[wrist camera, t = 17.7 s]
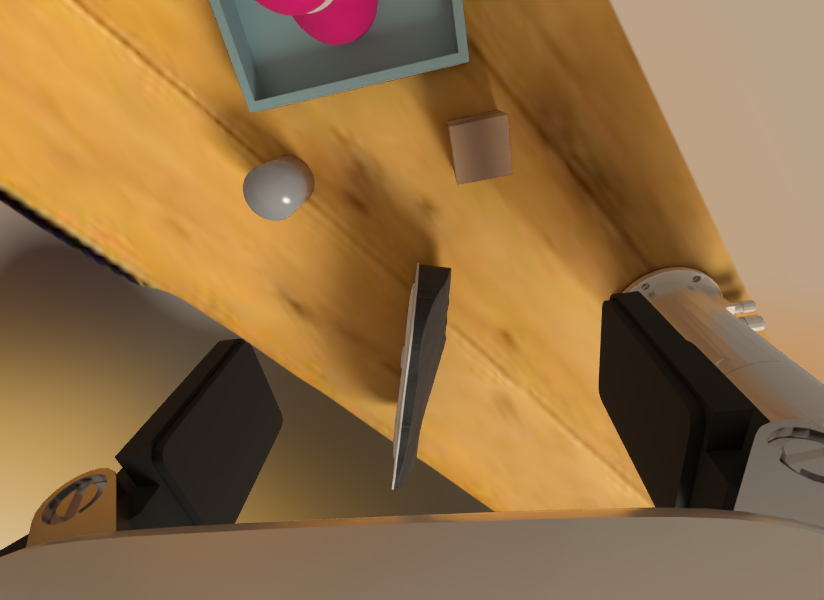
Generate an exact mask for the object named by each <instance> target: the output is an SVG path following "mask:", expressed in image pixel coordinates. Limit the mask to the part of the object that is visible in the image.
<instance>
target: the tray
mask: <svg viewBox="0 0 824 600" xmlns="http://www.w3.org/2000/svg"><path fill="white" fill-rule="evenodd" d="M209 1H210V4H211V7H212V9H213V12H214V15H215V18H216V20H217V23H218V26H219V29H220V31H221V34H222V37H223V40H224V43H225V45H226V48H227V51H228V54H229V56H230V59H231V62H232V65H233V67H234V70H235V73H236V76H237V78H238V81H239V84H240V87H241V90H242V92H243V95H244V98H245V101H246V103H247V106H248V109H249V112H250V113H253V112H258V111H264V110H269V109H273V108H277V107H282V106H286V105H290V104H294V103H299V102H303V101H307V100H311V99H316V98H320V97H324V96H328V95H333V94H337V93H341V92H345V91H350V90H354V89H358V88H362V87H367V86H371V85H375V84H380V83H384V82H388V81H392V80H397V79H401V78H405V77H409V76H414V75H418V74H422V73H426V72H431V71H435V70H439V69H443V68H448V67H452V66H456V65H460V64H465V63H467V62H469V53H468V45H467V36H466V27H465V18H464V10H463V1H462V0H378V7H377V13H376V16H375V19H374V22H373V24H372V25H371V27H370V29H369V30H368V31H367V32H366V33H365V34H364V35H363V36H362V37H361V38H359V39H357V40H354V41H352V42H350V43H347V44H343V45H329V44H325V43H322V42H320V41H318V40H316V39H314V38H313V37H311V36H310V35H308V34H307V33H306V32H305V31H304V30H303V29H302V28H301V27H300V26H299V25H298V24H297V22H296V21H295V20H294V18H293V17H292V16H290V15H283V14H278V13H276V12H273V11H271V10H269V9H267V8H265V7H264V6H262V5H260V4H259V3H258V2H256V1H255V0H209Z"/></svg>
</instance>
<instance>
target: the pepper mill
mask: <svg viewBox="0 0 824 600" xmlns="http://www.w3.org/2000/svg"><path fill="white" fill-rule="evenodd" d="M255 1H256V2H258V3H259V4H260V5H262V6H264V7H265V8H267V9H269V10H271V11H273V12H276V13H278V14H283V15H290V16H292V17H293V18H294V20H295V21H296V22H297V24H298V25H299V26H300V27H301V28H302V29H303V30H304V31H305V32H306V33H307V34H308V35H310V36H311V37H313V38H314V39H316V40H318V41H320V42H322V43H325V44H329V45H343V44H347V43H350V42H352V41H354V40H357V39H359V38H361V37H362V36H363V35H364V34H365V33H366V32H367V31H368V30H369V29H370V27H371V25H372V24H373V22H374V19H375V16H376V13H377V7H378V0H255Z"/></svg>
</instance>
